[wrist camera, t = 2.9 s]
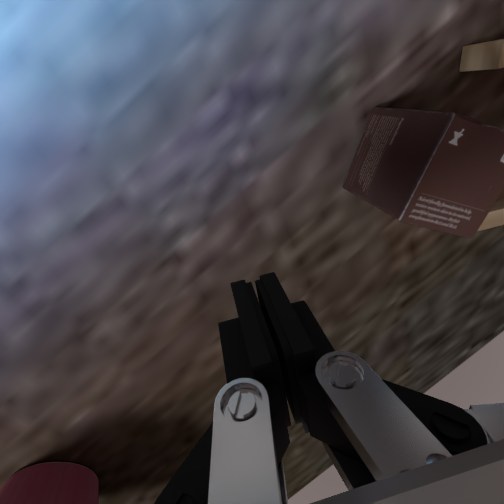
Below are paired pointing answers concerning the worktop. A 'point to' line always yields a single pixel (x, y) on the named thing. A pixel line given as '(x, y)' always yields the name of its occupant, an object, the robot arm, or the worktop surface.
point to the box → (429, 168)
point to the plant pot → (51, 485)
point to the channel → (486, 58)
